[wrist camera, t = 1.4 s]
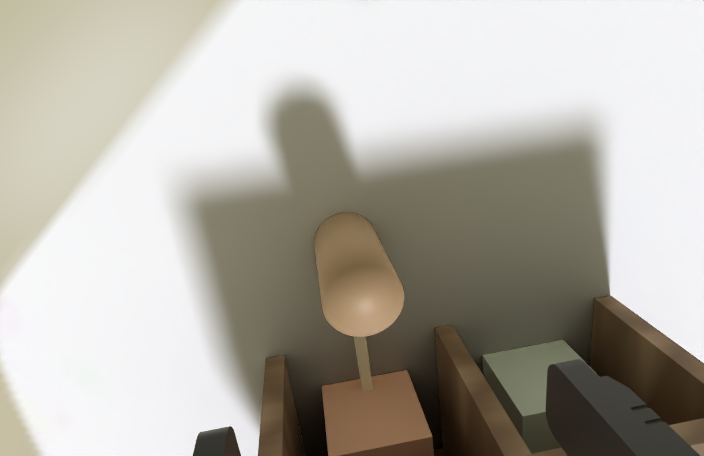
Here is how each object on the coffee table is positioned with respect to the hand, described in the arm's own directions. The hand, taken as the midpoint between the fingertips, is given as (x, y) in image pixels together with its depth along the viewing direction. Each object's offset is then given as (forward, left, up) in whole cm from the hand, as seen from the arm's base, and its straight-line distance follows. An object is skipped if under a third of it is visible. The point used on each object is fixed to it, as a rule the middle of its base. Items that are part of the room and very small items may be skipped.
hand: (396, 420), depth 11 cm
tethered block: (0, +6, -12) cm, 14 cm away
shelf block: (-10, +11, -13) cm, 19 cm away
